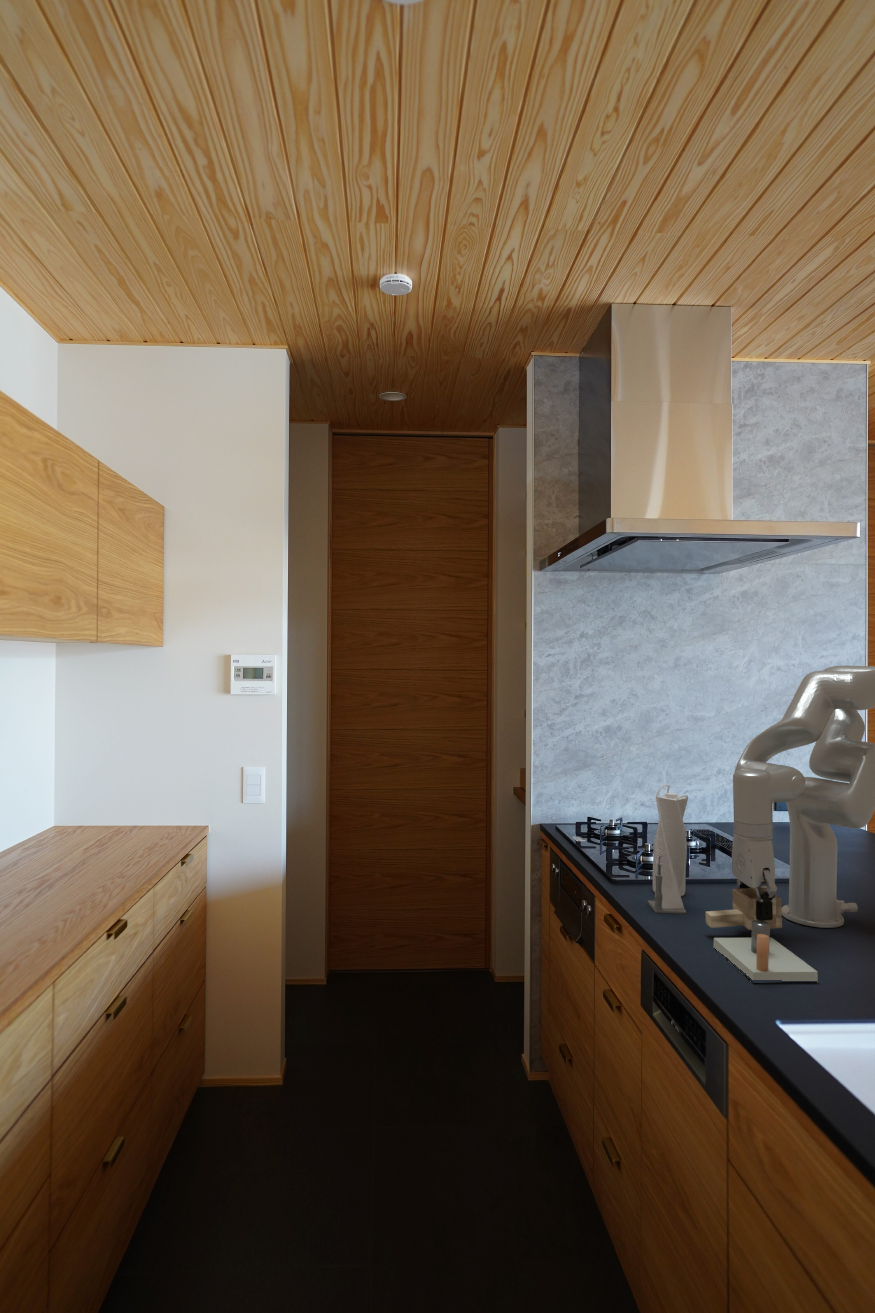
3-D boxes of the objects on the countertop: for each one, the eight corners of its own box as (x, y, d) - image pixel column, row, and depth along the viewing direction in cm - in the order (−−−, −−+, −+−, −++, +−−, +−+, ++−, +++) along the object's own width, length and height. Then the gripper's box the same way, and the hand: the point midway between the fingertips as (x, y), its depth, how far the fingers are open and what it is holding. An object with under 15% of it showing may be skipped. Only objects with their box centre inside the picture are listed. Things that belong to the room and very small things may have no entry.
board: (771, 947, 148) (771, 937, 148) (817, 983, 132) (817, 972, 132) (713, 948, 147) (713, 938, 147) (752, 983, 131) (753, 972, 131)
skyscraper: (646, 900, 176) (648, 783, 176) (680, 901, 175) (682, 784, 175) (655, 912, 167) (657, 789, 167) (691, 913, 167) (693, 790, 167)
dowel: (764, 966, 134) (765, 934, 134) (770, 971, 132) (771, 938, 132) (754, 967, 134) (754, 934, 134) (759, 971, 132) (760, 938, 132)
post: (764, 948, 143) (764, 920, 142) (772, 955, 139) (773, 926, 139) (748, 948, 142) (748, 920, 142) (756, 955, 139) (756, 926, 139)
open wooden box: (764, 914, 158) (763, 887, 158) (782, 927, 151) (781, 899, 151) (701, 919, 157) (700, 891, 157) (715, 932, 150) (714, 903, 150)
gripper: (717, 819, 162) (719, 898, 162) (756, 841, 144) (758, 931, 145) (750, 817, 162) (752, 896, 163) (793, 839, 145) (795, 928, 146)
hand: (755, 912), depth 154 cm, fingers closed on open wooden box, 7 cm apart
